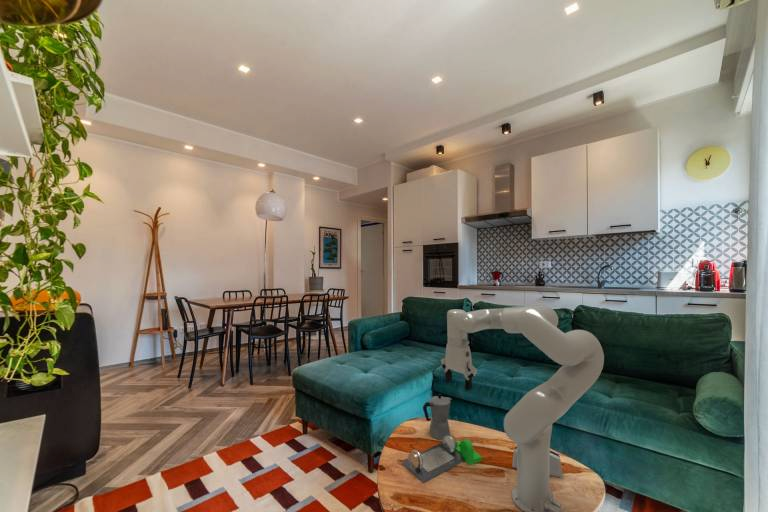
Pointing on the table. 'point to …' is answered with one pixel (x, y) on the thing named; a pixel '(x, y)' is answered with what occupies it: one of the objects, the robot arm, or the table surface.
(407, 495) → the table surface
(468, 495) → the table surface
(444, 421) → the coffeepot
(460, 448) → the mechanical part
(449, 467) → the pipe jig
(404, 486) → the table surface
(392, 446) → the table surface
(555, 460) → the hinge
